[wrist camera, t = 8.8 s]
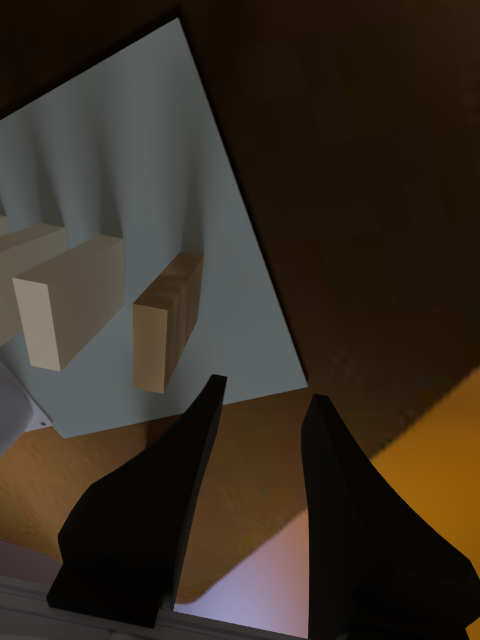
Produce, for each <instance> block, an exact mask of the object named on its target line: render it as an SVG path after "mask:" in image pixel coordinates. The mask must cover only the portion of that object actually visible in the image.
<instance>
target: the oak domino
mask: <svg viewBox="0 0 480 640" xmlns="http://www.w3.org/2000/svg"><path fill="white" fill-rule="evenodd" d="M203 262H204V256H202V255H197V254H192V253H186V252H180V253H179V254H178V255H177V256H176V257H175V258H174V259H173V260H172V261H171V262H170V263H169V265H168V266H167V267H166V268H165V269H164V270H163V271H162V272H161V273H160V274H159V275H158V276H157V278H156V279H155V280H154V281H153V282H152V283H151V284H150V285H149V286H148V287H147V288H146V289H145V291H144V292H143V293H142V294H141V295H140V296H139V297H138V298H137V299H136V300H135V301H134V302H133V374H134V388H137V389H142V390H147V391H153V392H158V393H163V394H164V392H165V389H166V387H167V385H168V383H169V381H170V379H171V376H172V374H173V372H174V370H175V368H176V366H177V363H178V361H179V359H180V357H181V355H182V353H183V350H184V348H185V346H186V344H187V342H188V340H189V338H190V335H191V333H192V331H193V329H194V327H195V325H196V322H197V320H198V310H199V301H200V291H201V281H202V272H203Z"/></svg>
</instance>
